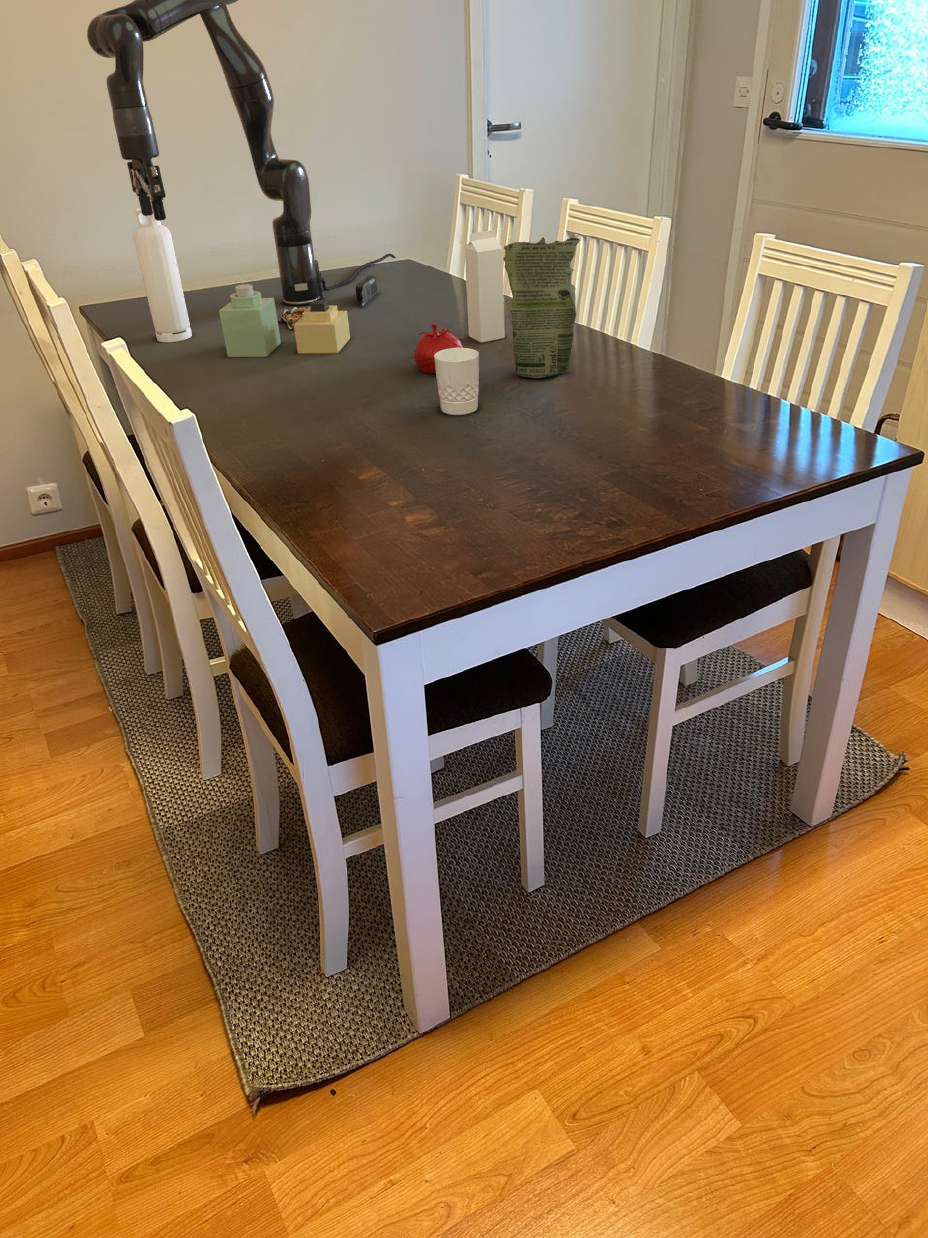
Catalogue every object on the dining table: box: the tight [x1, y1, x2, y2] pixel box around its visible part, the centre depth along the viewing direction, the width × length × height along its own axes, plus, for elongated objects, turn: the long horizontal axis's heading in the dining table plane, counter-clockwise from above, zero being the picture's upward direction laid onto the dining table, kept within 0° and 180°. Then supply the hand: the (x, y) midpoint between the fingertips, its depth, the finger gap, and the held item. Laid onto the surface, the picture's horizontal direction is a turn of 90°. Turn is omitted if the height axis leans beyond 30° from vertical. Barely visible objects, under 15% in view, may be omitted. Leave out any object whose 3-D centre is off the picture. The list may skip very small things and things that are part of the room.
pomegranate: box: [413, 323, 464, 375], centre depth 186 cm, size 10×10×9 cm
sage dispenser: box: [218, 290, 282, 358], centre depth 204 cm, size 10×9×12 cm
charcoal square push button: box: [309, 299, 330, 312], centre depth 202 cm, size 3×3×2 cm
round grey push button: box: [235, 283, 254, 297], centre depth 200 cm, size 4×4×2 cm
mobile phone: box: [355, 275, 378, 308], centre depth 238 cm, size 5×3×15 cm
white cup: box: [434, 347, 480, 416], centre depth 167 cm, size 8×8×10 cm
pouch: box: [503, 236, 581, 379], centre depth 178 cm, size 11×12×25 cm
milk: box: [464, 229, 505, 344], centre depth 200 cm, size 6×6×22 cm
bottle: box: [132, 207, 193, 343], centre depth 211 cm, size 8×8×28 cm
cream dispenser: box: [293, 305, 351, 354], centre depth 205 cm, size 11×9×8 cm
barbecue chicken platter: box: [278, 306, 307, 330], centre depth 222 cm, size 7×12×4 cm, turn 29°
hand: (154, 217), depth 198 cm, fingers open, 8 cm apart
